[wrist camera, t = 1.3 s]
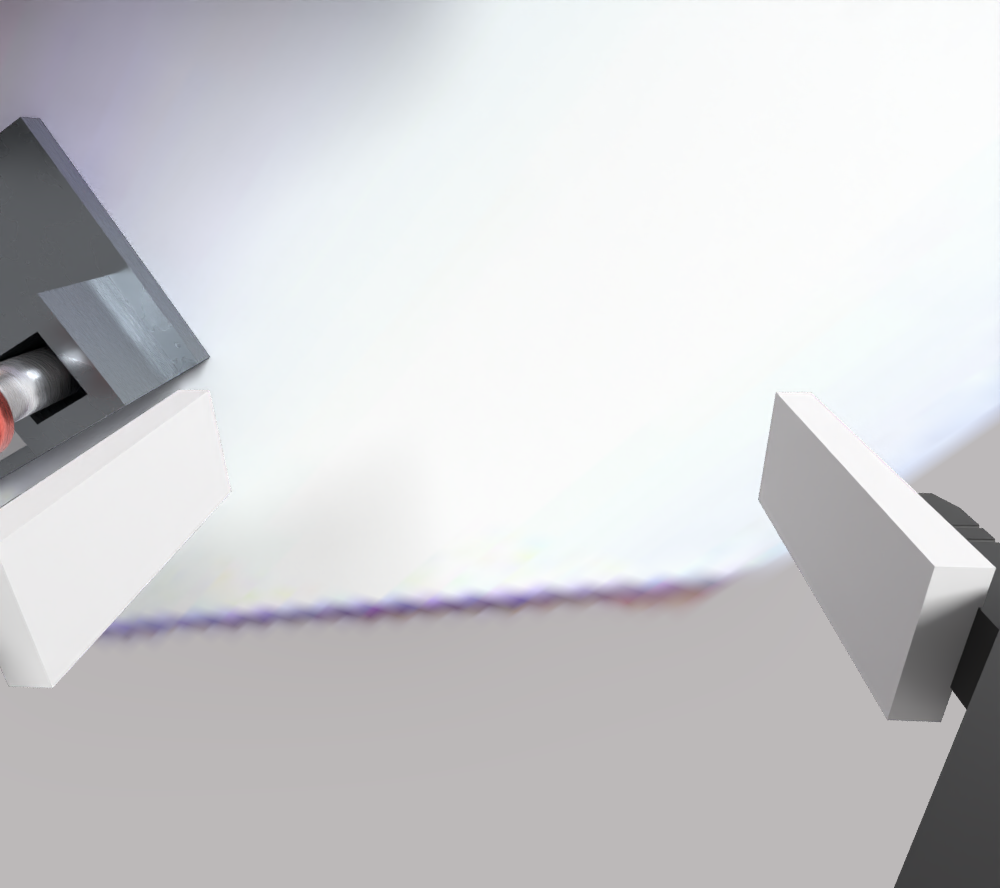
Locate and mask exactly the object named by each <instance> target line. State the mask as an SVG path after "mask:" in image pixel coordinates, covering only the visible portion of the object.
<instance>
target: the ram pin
mask: <svg viewBox="0 0 1000 888" xmlns="http://www.w3.org/2000/svg"><path fill="white" fill-rule="evenodd" d="M80 386H81V385H80V384H79V383H78V382H77V380H76V379H75V378H74V377H73V375H72V374H71V373H70V372H69V370H68V369H67V368H66V367H65V365H64V364H63V363H62V362H61V360H60V359H59V358H58V357H57V355H56V354H55V353H54V352H53V350H52V349H51V348H50V347H49V346H44V347H41V348H38V349H35V350H32V351H30V352H27V353H24V354H21V355H19V356H16V357H13V358H10V359H8V360H5V361H2V362H0V453H1V452H2V451H4V450H5V449H6V448H7V447H8V445H9V444H10V442H11V440H12V438H13V434H14V422H17V421H19V420H21V419H23V418H25V417H27V416H29V415H31V414H33V413H35V412H37V411H39V410H41V409H43V408H45V407H47V406H50V405H52V404H54V403H56V402H58V401H60V400H62V399H64V398H66V397H68V396H70V395H72V394H74V393H75V392H77V391H78V389H79V388H80Z"/></svg>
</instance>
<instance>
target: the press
mask: <svg viewBox="0 0 1000 888" xmlns="http://www.w3.org/2000/svg"><path fill="white" fill-rule="evenodd" d="M44 346H49V347H50V348H51V349H52V350H53V352H54V353H55V354H56V355H57V357H58V358H59V359H60V360H61V362H62V363H63V364H64V365H65V367H66V368H67V369H68V370H69V372H70V373H71V374H72V375H73V377H74V378H75V379H76V380H77V382H78V383H79V384H80V385H81V386H80V388H79V389H78V391H77V392H75V393H74V394H72V395H70V396H68V397H66V398H64V399H62V400H60V401H58V402H56V403H54V404H52V405H50V406H47V407H45V408H43V409H41V410H39V411H37V412H35V413H33V414H31V415H29V416H27V417H25V418H23V419H21V420H19V421H17V422H14V434H13V438H12V440H11V442H10V444H9V445H8V447H7V448H6V449H5V450H4V451H2V452H1V453H0V479H1V478H2V477H4V476H6V475H8V474H9V473H11V472H13V471H15V470H16V469H18V468H20V467H21V466H23V465H25V464H27V463H28V462H30V461H32V460H33V459H35V458H37V457H39V456H40V455H42V454H44V453H46V452H47V451H49V450H51V449H52V448H54V447H56V446H58V445H59V444H61V443H63V442H64V441H66V440H68V439H70V438H71V437H73V436H75V435H76V434H78V433H80V432H82V431H83V430H85V429H87V428H89V427H90V426H92V425H94V424H95V423H97V422H99V421H101V420H102V419H104V418H106V417H107V416H109V415H111V414H113V413H114V412H116V411H118V410H120V409H121V408H123V407H125V406H126V405H128V404H130V403H132V402H133V401H135V400H137V399H138V398H140V397H142V396H144V395H145V394H147V393H149V392H151V391H152V390H154V389H156V388H157V387H159V386H161V385H163V384H164V383H166V382H168V381H169V380H171V379H173V378H175V377H176V376H178V375H180V374H182V373H183V372H185V371H187V370H188V369H190V368H192V367H194V366H195V365H197V364H199V363H200V362H202V361H204V360H206V359H207V358H209V357H210V356H209V355H208V353H207V352H206V350H205V349H204V348H203V346H202V345H201V343H200V342H199V341H198V339H197V338H196V336H195V335H194V334H193V332H192V331H191V329H190V328H189V327H188V325H187V324H186V322H185V321H184V320H183V318H182V317H181V315H180V314H179V313H178V311H177V310H176V308H175V307H174V306H173V304H172V303H171V301H170V300H169V299H168V297H167V296H166V294H165V293H164V292H163V290H162V289H161V287H160V286H159V285H158V283H157V282H156V280H155V279H154V278H153V276H152V275H151V273H150V272H149V271H148V269H147V268H146V266H145V265H144V264H143V262H142V261H141V259H140V258H139V257H138V255H137V254H136V252H135V251H134V250H133V248H132V247H131V245H130V244H129V243H128V241H127V240H126V238H125V237H124V236H123V234H122V233H121V231H120V230H119V229H118V227H117V226H116V224H115V223H114V222H113V220H112V219H111V217H110V216H109V215H108V213H107V212H106V210H105V209H104V208H103V206H102V205H101V203H100V202H99V201H98V199H97V198H96V196H95V195H94V194H93V192H92V191H91V189H90V188H89V187H88V185H87V184H86V182H85V181H84V180H83V178H82V177H81V175H80V174H79V173H78V171H77V170H76V168H75V167H74V166H73V164H72V163H71V161H70V160H69V159H68V157H67V156H66V154H65V153H64V152H63V150H62V149H61V147H60V146H59V145H58V143H57V142H56V140H55V139H54V138H53V136H52V135H51V133H50V132H49V131H48V129H47V128H46V126H45V125H44V124H43V122H42V121H41V119H38V118H26V117H20V118H19V119H17V120H16V121H15V122H14V123H12V124H11V125H10V126H8V127H7V128H6V129H4V130H3V131H2V132H1V133H0V362H2V361H5V360H8V359H10V358H13V357H16V356H19V355H21V354H24V353H27V352H30V351H32V350H35V349H38V348H41V347H44Z"/></svg>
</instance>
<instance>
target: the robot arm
mask: <svg viewBox="0 0 1000 888" xmlns="http://www.w3.org/2000/svg"><path fill="white" fill-rule="evenodd" d="M231 492H232V490H231V486H230V481H229V477H228V472H227V468H226V463H225V458H224V454H223V449H222V445H221V440H220V436H219V431H218V427H217V422H216V417H215V413H214V408H213V404H212V399H211V395H210V390H177V391H176V392H174V393H173V394H171V395H170V396H168V397H167V398H165V399H164V400H162V401H161V402H159V403H158V404H156V405H155V406H153V407H152V408H150V409H149V410H147V411H146V412H144V413H143V414H141V415H140V416H138V417H137V418H135V419H134V420H132V421H131V422H129V423H128V424H126V425H125V426H123V427H122V428H120V429H119V430H117V431H116V432H114V433H113V434H111V435H110V436H108V437H107V438H105V439H104V440H102V441H101V442H99V443H98V444H96V445H95V446H93V447H92V448H90V449H89V450H87V451H86V452H84V453H83V454H81V455H80V456H78V457H77V458H75V459H74V460H72V461H71V462H69V463H68V464H66V465H65V466H63V467H62V468H60V469H59V470H57V471H56V472H54V473H53V474H51V475H50V476H48V477H47V478H45V479H44V480H42V481H41V482H39V483H38V484H36V485H35V486H33V487H32V488H30V489H29V490H27V491H26V492H24V493H23V494H21V495H19V496H17V497H16V498H14V499H13V500H11V501H10V502H8V503H7V504H5V505H4V506H2V507H1V508H0V668H1V671H2V673H3V675H4V677H5V680H6V682H7V684H8V686H12V687H37V688H53V687H54V686H55V685H56V684H57V683H58V682H59V681H60V679H61V678H62V677H63V676H64V675H65V674H66V673H67V672H68V671H69V670H70V669H71V667H72V666H73V665H74V664H75V663H76V662H77V661H78V660H79V659H80V658H81V657H82V655H83V654H84V653H85V652H86V651H87V650H88V649H89V648H90V647H91V646H92V644H93V643H94V642H95V641H96V640H97V639H98V638H99V637H100V636H101V635H102V633H103V632H104V631H105V630H106V629H107V628H108V627H109V626H110V625H111V624H112V623H113V621H114V620H115V619H116V618H117V617H118V616H119V615H120V614H121V613H122V612H123V610H124V609H125V608H126V607H127V606H128V605H129V604H130V603H131V602H132V601H133V599H134V598H135V597H136V596H137V595H138V594H139V593H140V592H141V591H142V590H143V588H144V587H145V586H146V585H147V584H148V583H149V582H150V581H151V580H152V579H153V578H154V576H155V575H156V574H157V573H158V572H159V571H160V570H161V569H162V568H163V567H164V565H165V564H166V563H167V562H168V561H169V560H170V559H171V558H172V557H173V556H174V554H175V553H176V552H177V551H178V550H179V549H180V548H181V547H182V546H183V545H184V543H185V542H186V541H187V540H188V539H189V538H190V537H191V536H192V535H193V534H194V533H195V531H196V530H197V529H198V528H199V527H200V526H201V525H202V524H203V523H204V522H205V520H206V519H207V518H208V517H209V516H210V515H211V514H212V513H213V512H214V511H215V509H216V508H217V507H218V506H219V505H220V504H221V503H222V502H223V501H224V500H225V499H226V497H227V496H228V495H229V494H230V493H231ZM758 500H759V502H760V504H761V505H762V507H763V509H764V510H765V512H766V514H767V516H768V517H769V519H770V521H771V522H772V524H773V526H774V527H775V529H776V531H777V533H778V534H779V536H780V538H781V539H782V541H783V543H784V545H785V546H786V548H787V550H788V551H789V553H790V555H791V556H792V558H793V560H794V562H795V563H796V565H797V567H798V568H799V570H800V572H801V573H802V575H803V577H804V579H805V580H806V582H807V584H808V586H809V587H810V589H811V591H812V592H813V594H814V596H815V597H816V599H817V601H818V603H819V604H820V606H821V608H822V609H823V611H824V613H825V615H826V616H827V618H828V620H829V621H830V623H831V625H832V626H833V628H834V630H835V632H836V633H837V635H838V637H839V638H840V640H841V642H842V644H843V645H844V647H845V649H846V650H847V652H848V654H849V655H850V657H851V659H852V661H853V662H854V664H855V666H856V667H857V669H858V671H859V672H860V674H861V676H862V678H863V679H864V681H865V683H866V684H867V686H868V688H869V689H870V691H871V693H872V695H873V696H874V698H875V700H876V702H877V703H878V705H879V706H880V708H881V710H882V712H883V713H884V715H885V717H886V719H887V720H902V721H928V722H941V720H942V718H943V715H944V712H945V709H946V706H947V704H948V701H949V698H950V695H951V692H952V690H953V692H954V693H955V694H956V696H957V697H958V698H959V700H960V701H961V703H962V704H963V705H964V707H965V708H966V709H967V711H966V713H965V715H964V718H963V720H962V723H961V725H960V728H959V730H958V732H957V735H956V737H955V740H954V742H953V745H952V747H951V750H950V752H949V754H948V757H947V759H946V762H945V764H944V767H943V769H942V772H941V774H940V776H939V779H938V781H937V784H936V786H935V789H934V791H933V794H932V796H931V799H930V801H929V804H928V806H927V808H926V811H925V813H924V816H923V818H922V821H921V823H920V825H919V828H918V830H917V833H916V835H915V838H914V840H913V843H912V845H911V848H910V850H909V853H908V855H907V857H906V860H905V862H904V865H903V867H902V870H901V872H900V874H899V877H898V879H897V882H896V884H895V887H894V888H1000V543H995V539H994V538H993V537H992V536H991V535H990V534H989V533H988V532H986V531H985V530H984V529H983V528H979V524H977V523H976V522H975V521H974V520H973V519H972V518H970V516H968V515H967V514H966V513H965V512H964V511H963V510H962V509H960V508H959V507H957V506H955V505H953V504H951V503H949V502H947V501H945V500H943V499H942V498H940V497H938V496H936V495H934V494H932V493H917V492H916V491H915V490H914V489H913V488H911V487H910V486H909V485H908V484H907V483H906V482H905V481H904V480H903V479H902V478H901V477H900V476H899V475H898V474H897V473H896V472H895V471H894V470H893V469H891V468H890V467H889V466H888V465H887V464H886V463H885V462H884V461H883V460H882V459H881V458H880V457H879V456H878V455H877V454H876V453H875V452H874V451H873V450H871V449H870V448H869V447H868V446H867V445H866V444H865V443H864V442H863V441H862V440H861V439H860V438H859V437H858V436H857V435H856V434H855V433H854V432H853V431H852V430H850V429H849V428H848V427H847V426H846V425H845V424H844V423H843V422H842V421H841V420H840V419H839V418H838V417H837V416H836V415H835V414H834V413H833V412H832V411H830V410H829V409H828V408H827V407H826V406H825V405H824V404H823V403H822V402H821V401H820V400H819V399H818V398H817V397H816V396H815V395H814V394H813V393H812V392H776V395H775V401H774V407H773V413H772V419H771V425H770V431H769V437H768V443H767V450H766V456H765V462H764V468H763V474H762V480H761V486H760V492H759V498H758Z"/></svg>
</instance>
